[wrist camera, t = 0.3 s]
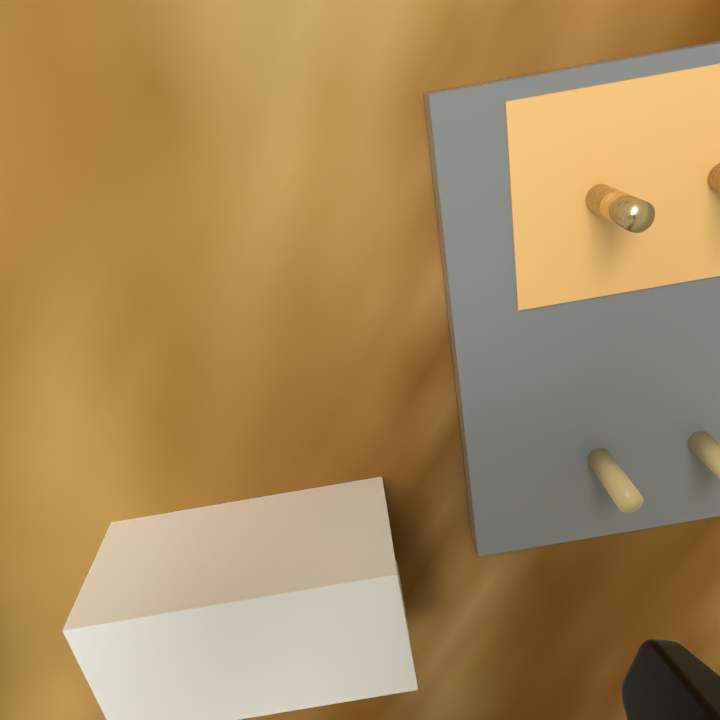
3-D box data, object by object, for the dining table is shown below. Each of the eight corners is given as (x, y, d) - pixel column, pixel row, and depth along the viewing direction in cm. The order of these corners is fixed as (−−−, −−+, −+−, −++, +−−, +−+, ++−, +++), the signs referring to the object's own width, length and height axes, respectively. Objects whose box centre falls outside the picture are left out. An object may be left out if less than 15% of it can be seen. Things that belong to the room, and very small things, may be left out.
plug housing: (399, 578, 25) (418, 689, 21) (152, 619, 25) (116, 739, 21) (381, 475, 23) (397, 574, 19) (111, 520, 23) (62, 630, 19)
